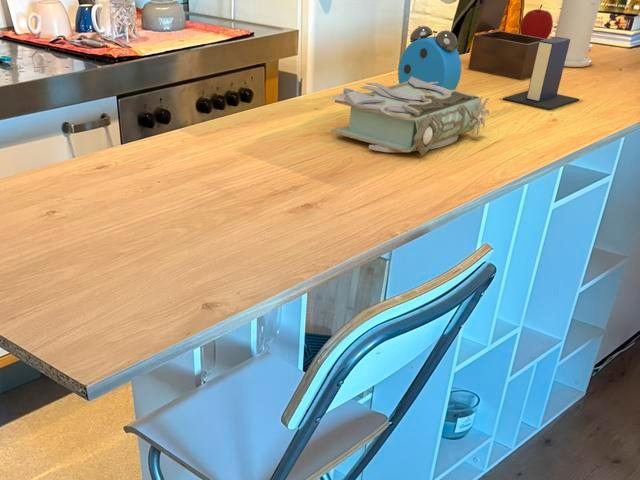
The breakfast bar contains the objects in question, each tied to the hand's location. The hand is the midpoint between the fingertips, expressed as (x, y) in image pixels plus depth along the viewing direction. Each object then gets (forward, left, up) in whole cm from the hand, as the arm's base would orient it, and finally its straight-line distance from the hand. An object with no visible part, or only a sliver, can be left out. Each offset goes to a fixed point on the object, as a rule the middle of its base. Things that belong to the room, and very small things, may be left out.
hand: (485, 3), depth 209 cm
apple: (-43, -6, -14) cm, 46 cm away
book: (+21, +32, -14) cm, 40 cm away
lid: (0, +4, +2) cm, 4 cm away
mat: (+21, +32, -14) cm, 40 cm away
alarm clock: (+47, +17, -14) cm, 52 cm away
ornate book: (+71, +29, -14) cm, 78 cm away
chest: (0, +10, -14) cm, 17 cm away
